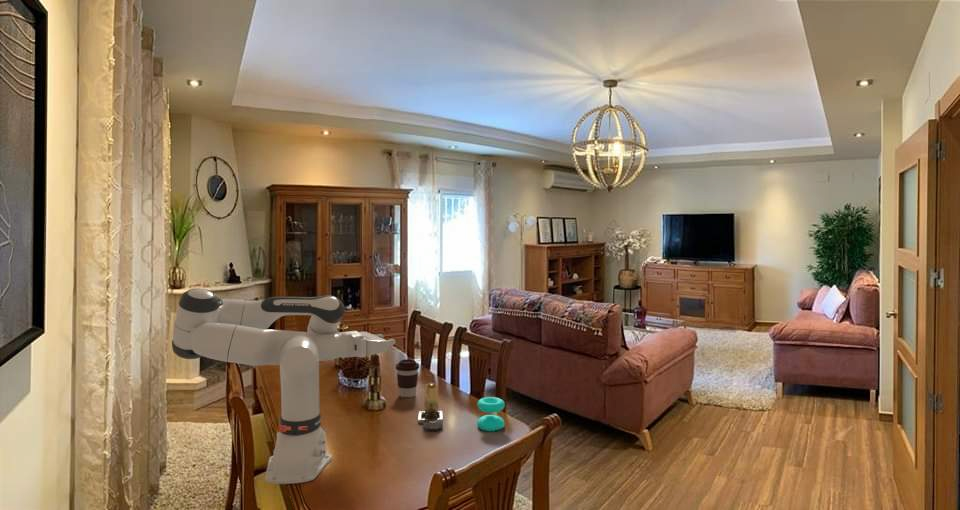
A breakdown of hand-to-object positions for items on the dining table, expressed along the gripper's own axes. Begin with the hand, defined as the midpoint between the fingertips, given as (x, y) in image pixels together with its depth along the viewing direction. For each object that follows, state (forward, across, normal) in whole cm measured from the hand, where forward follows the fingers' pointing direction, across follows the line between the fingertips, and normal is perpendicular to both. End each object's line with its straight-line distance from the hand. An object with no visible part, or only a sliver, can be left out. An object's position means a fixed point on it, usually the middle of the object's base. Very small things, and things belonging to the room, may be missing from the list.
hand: (388, 339), depth 189 cm
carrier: (+14, +9, -32) cm, 36 cm away
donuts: (+30, +22, -32) cm, 49 cm away
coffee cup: (+22, -27, -32) cm, 48 cm away
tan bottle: (+17, +2, -31) cm, 35 cm away
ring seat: (+16, +2, -32) cm, 36 cm away
